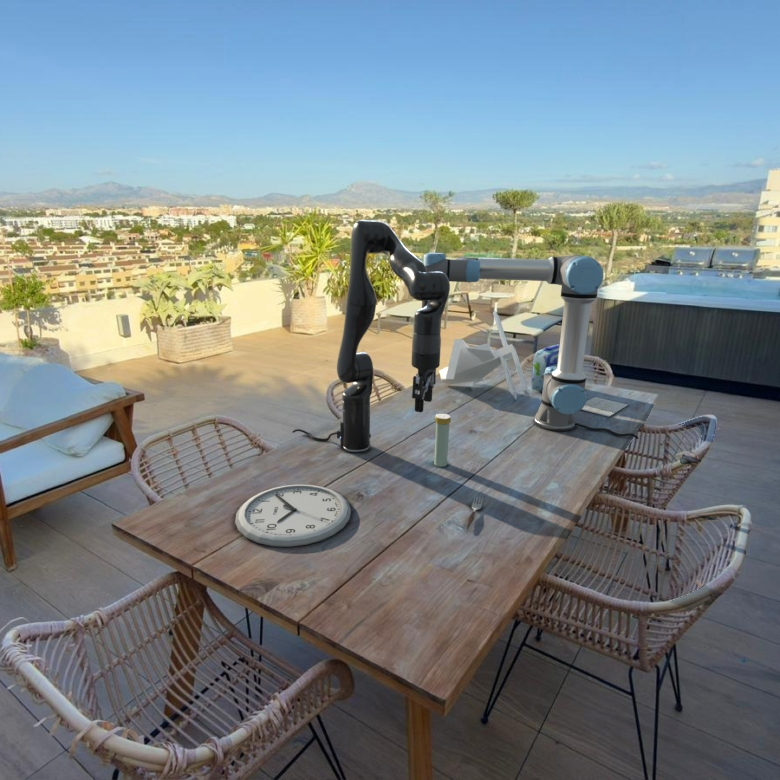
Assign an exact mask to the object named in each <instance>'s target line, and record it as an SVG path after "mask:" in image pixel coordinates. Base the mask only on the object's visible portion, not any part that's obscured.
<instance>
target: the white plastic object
mask: <svg viewBox="0 0 780 780" xmlns="http://www.w3.org/2000/svg"><path fill="white" fill-rule="evenodd" d="M492 315H493V319H494V321H495V324H496V325H495V326H496V328H497V332H498V335H499V338H500V342H501V345H502V347H500V348H498V349H496V350H495V349H493V348H492V347H491V346H490V344H489V343H488V342H487V343H483V344H479V345H473V346H469V345H468V343H466V342H465V340H464V339H463V338H460V339H458V338H454V340H453V344H452V349H451V353H450V357H449V362H448V366H446V367H444V368H442V369H440V370H439V371H438V372H439V376H440V381H442V383H443V384H444V385H445V386H449V385H458V384H467V383H468V384H469V383H473V384H477V383H480V382H482V381H484V378H485V377H486V376H487V375H489V374H490V373H492V372H494V371H495V370H496V369H497V368H499V367H500V366H502V370H503V373H504V376H505V380H506V383H507V386H508V390H509V393H510V394H511V395H512V397H513V398H514V399H515V400H517V392H516V391H517V390H516V388H515V385H514V381H513V378H512V375H511V371H510V369H509V365H508V361H510V360H513V363H514V366H515V369H516V372H517V376H518V380H519V382H520V385H521V389H522V391H523V393H524V395H525V396H526V397H528V396H531V395H530V390H529V388H528V387H529V386H528V384H527V381H526V378H525V375H524V371H523V369H522V368H523V367H522V366H521V362H520V359H519V355H518V352H517V349H516V347H515V346H514V345H513V343H511V344H508V341H507V337H506V334H505V331H504V328H503V325H502V321H501V318H500V315H499V314H498V312H497V311H496V310H495V311H492Z"/></svg>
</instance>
